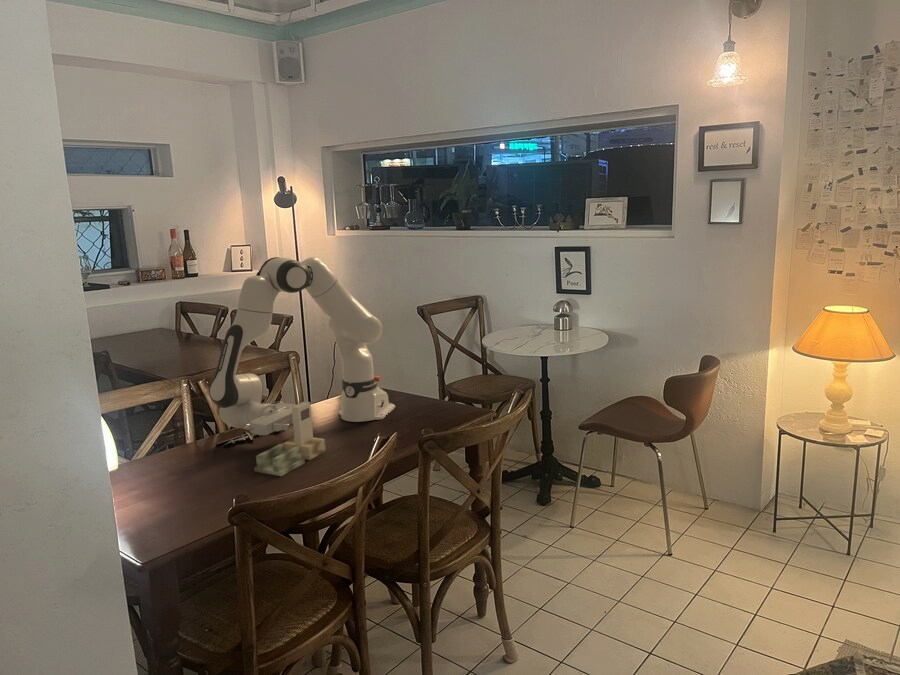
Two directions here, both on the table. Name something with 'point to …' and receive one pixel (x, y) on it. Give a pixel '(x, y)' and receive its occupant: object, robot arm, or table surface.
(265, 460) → the rack
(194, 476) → the table surface
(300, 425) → the white block with panel
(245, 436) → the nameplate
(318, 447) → the stand
